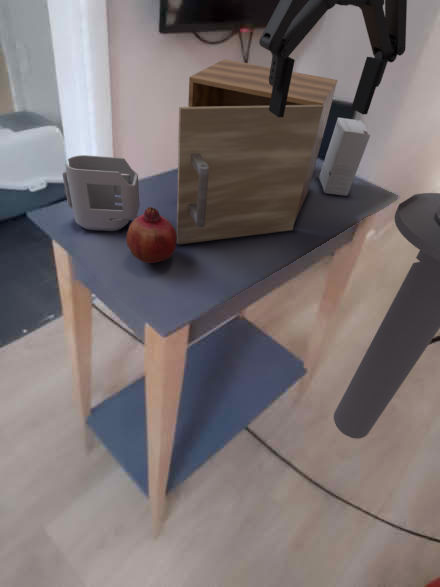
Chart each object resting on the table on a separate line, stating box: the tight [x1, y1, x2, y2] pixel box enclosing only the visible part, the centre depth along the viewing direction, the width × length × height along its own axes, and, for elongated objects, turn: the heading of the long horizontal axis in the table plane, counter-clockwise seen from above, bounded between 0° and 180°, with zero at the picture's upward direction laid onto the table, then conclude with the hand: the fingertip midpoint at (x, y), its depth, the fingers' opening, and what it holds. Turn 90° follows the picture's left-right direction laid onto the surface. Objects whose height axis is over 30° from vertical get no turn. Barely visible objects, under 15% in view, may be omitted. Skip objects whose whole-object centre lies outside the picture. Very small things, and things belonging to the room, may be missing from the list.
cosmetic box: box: [318, 117, 371, 197], centre depth 89 cm, size 8×6×15 cm
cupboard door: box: [176, 105, 323, 245], centre depth 65 cm, size 6×24×23 cm, turn 110°
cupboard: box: [187, 58, 338, 224], centre depth 80 cm, size 18×24×24 cm
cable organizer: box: [62, 154, 141, 232], centre depth 70 cm, size 7×12×12 cm, turn 93°
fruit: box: [125, 206, 177, 264], centre depth 64 cm, size 8×8×10 cm
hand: (319, 112), depth 54 cm, fingers open, 13 cm apart
